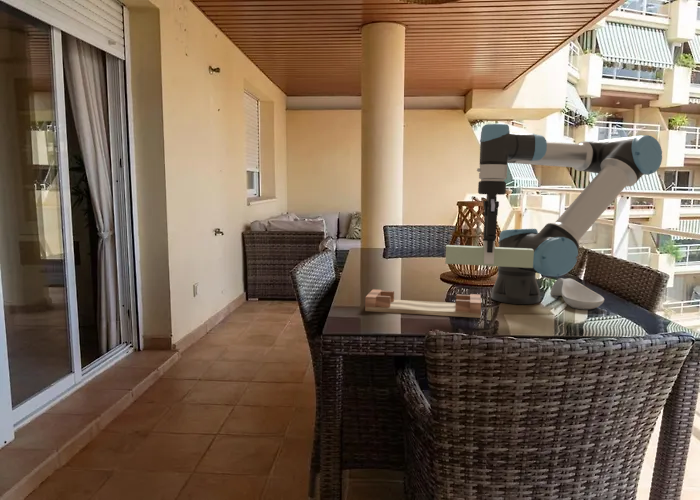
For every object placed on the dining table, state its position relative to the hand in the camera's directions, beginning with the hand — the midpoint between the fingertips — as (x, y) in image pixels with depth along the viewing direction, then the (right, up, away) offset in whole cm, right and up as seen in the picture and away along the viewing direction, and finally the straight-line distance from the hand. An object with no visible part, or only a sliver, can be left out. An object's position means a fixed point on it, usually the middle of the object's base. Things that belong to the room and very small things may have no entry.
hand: (488, 262), depth 147 cm
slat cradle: (-18, -14, +6) cm, 24 cm away
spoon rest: (+31, -14, +16) cm, 38 cm away
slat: (0, -1, 0) cm, 1 cm away
